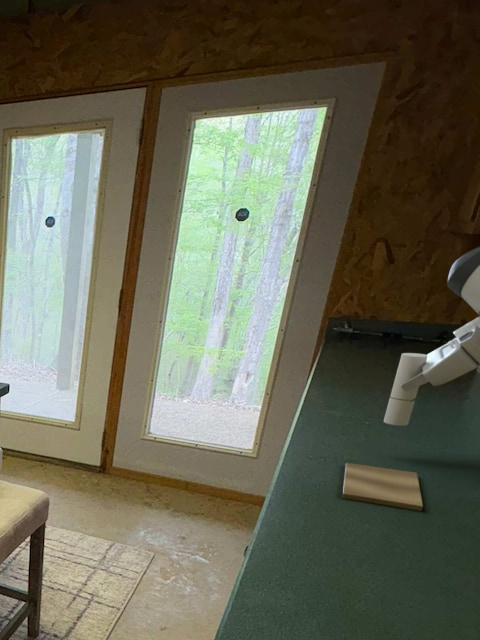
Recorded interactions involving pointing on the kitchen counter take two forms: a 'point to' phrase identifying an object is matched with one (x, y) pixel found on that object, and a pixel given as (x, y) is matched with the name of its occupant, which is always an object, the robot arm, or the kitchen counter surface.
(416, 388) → the tube
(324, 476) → the kitchen counter surface
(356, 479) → the birch board
